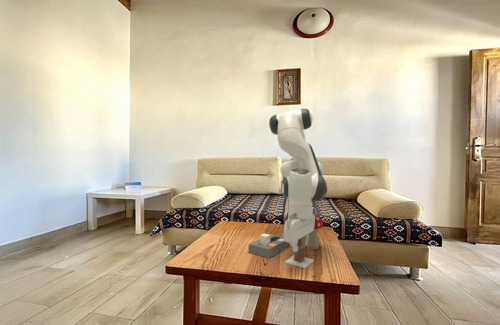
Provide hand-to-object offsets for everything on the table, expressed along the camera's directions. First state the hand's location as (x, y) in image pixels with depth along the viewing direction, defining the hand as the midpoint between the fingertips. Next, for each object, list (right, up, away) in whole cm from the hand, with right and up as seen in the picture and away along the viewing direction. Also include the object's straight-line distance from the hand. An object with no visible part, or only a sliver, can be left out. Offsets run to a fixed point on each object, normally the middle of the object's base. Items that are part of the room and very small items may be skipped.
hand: (299, 248), depth 90 cm
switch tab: (-12, -3, +10) cm, 16 cm away
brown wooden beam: (0, -5, 0) cm, 5 cm away
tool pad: (0, -5, 0) cm, 5 cm away
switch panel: (-10, -5, +13) cm, 18 cm away
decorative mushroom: (+10, -6, +17) cm, 20 cm away
